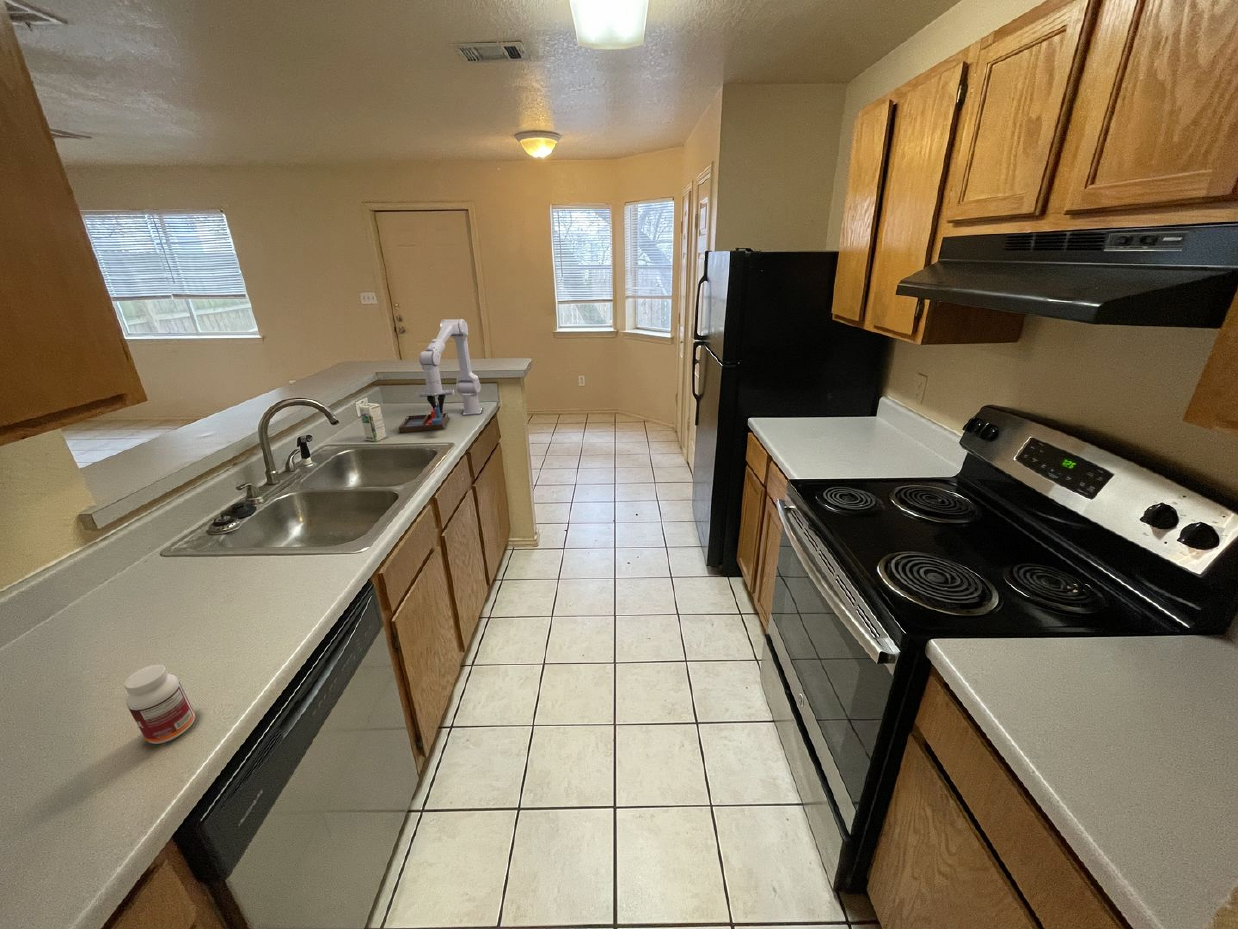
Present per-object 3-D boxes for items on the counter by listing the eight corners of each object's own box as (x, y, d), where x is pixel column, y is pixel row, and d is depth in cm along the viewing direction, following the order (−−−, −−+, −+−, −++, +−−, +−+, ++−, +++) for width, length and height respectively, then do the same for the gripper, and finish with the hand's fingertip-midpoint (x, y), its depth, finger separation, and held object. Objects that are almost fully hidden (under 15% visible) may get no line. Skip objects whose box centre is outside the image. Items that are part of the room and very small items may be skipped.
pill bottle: (149, 724, 81) (121, 672, 77) (197, 705, 84) (173, 654, 80) (143, 753, 76) (113, 699, 72) (194, 732, 79) (168, 679, 75)
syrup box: (365, 440, 207) (357, 406, 202) (376, 435, 212) (369, 402, 207) (376, 441, 205) (368, 407, 200) (387, 437, 210) (379, 403, 205)
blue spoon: (436, 416, 216) (434, 403, 214) (447, 415, 217) (444, 402, 215) (431, 425, 204) (428, 412, 202) (442, 424, 205) (440, 411, 203)
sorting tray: (408, 421, 231) (407, 415, 230) (448, 417, 233) (447, 412, 232) (399, 432, 215) (398, 427, 214) (443, 429, 218) (442, 423, 217)
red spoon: (432, 418, 231) (430, 406, 229) (442, 417, 232) (440, 405, 230) (427, 426, 219) (425, 414, 217) (438, 426, 220) (436, 413, 218)
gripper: (412, 384, 201) (419, 417, 207) (450, 381, 204) (455, 414, 209) (416, 380, 208) (422, 412, 213) (452, 378, 210) (457, 409, 215)
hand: (439, 412), depth 211 cm, fingers closed on blue spoon
